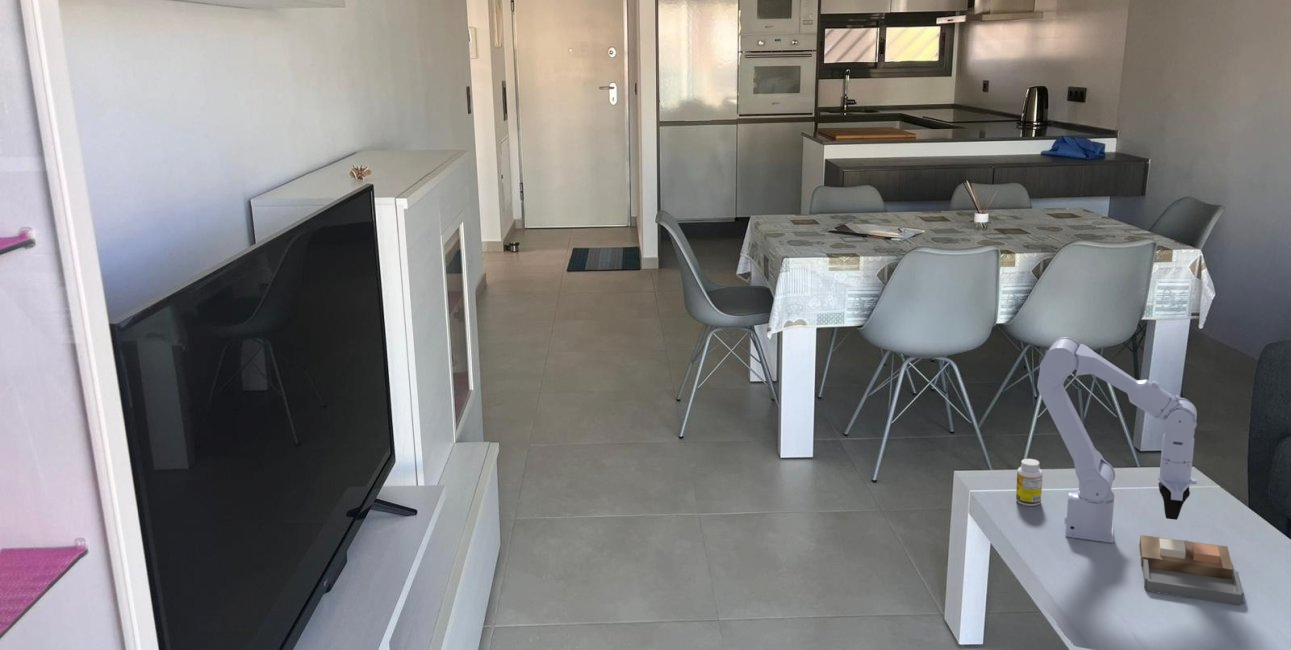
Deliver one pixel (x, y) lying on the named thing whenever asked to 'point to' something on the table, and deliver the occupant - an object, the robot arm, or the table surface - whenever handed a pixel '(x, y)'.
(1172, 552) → the tile cream
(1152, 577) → the box
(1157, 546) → the plate
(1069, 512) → the robot arm
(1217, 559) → the tile terracotta
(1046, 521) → the table surface
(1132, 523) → the table surface
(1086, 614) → the table surface
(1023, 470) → the supplement bottle
